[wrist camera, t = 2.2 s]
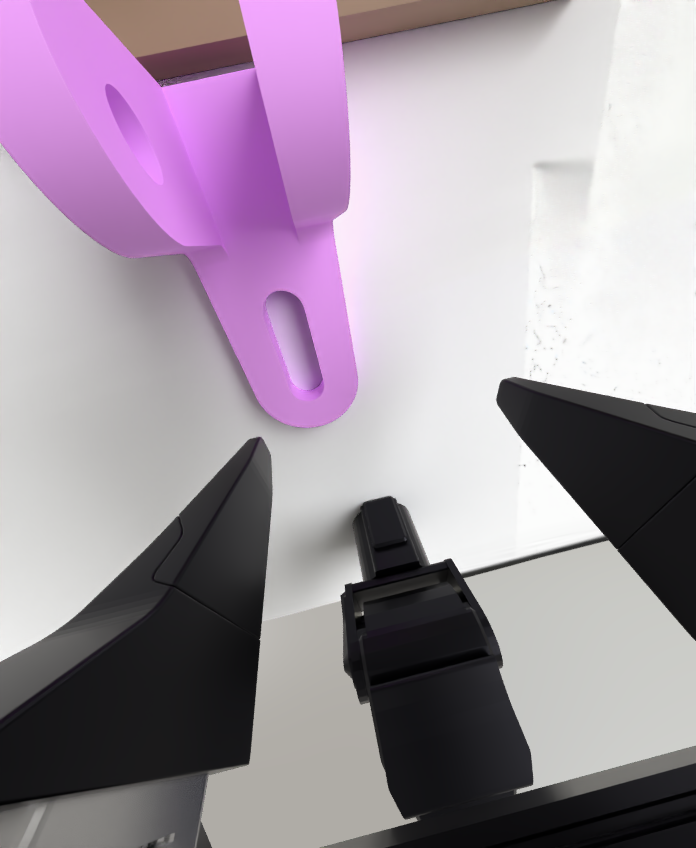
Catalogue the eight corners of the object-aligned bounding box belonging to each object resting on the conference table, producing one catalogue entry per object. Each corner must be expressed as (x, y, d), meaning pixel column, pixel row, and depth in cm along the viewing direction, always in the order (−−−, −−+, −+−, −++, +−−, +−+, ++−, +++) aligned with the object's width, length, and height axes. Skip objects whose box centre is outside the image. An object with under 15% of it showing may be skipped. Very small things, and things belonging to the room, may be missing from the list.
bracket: (139, 117, 8) (-205, -150, 3) (303, 82, 8) (309, -249, 3) (276, 423, 16) (263, 518, 10) (359, 403, 16) (391, 488, 11)
